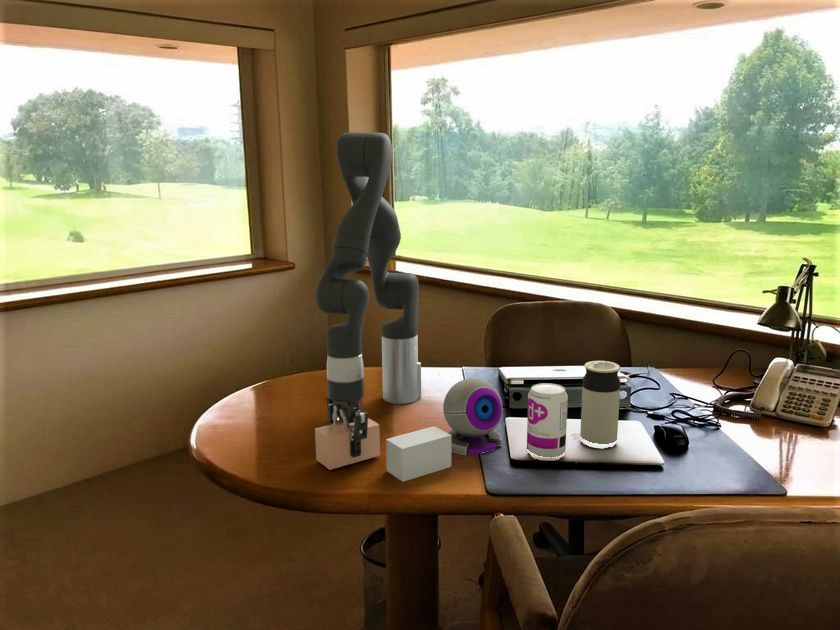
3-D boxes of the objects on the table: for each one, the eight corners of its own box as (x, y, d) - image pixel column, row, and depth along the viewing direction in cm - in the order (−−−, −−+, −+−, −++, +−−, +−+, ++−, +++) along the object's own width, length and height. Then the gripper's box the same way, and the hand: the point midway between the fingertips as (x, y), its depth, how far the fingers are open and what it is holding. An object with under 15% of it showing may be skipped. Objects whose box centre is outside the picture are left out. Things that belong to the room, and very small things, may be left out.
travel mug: (623, 442, 163) (627, 365, 159) (605, 453, 158) (609, 373, 154) (591, 433, 169) (595, 358, 165) (573, 443, 163) (576, 365, 159)
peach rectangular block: (365, 446, 161) (364, 416, 159) (380, 455, 156) (379, 424, 154) (316, 459, 154) (314, 428, 153) (329, 469, 149) (328, 437, 148)
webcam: (462, 460, 155) (463, 392, 152) (432, 439, 166) (432, 376, 162) (512, 447, 161) (514, 382, 158) (480, 428, 172) (481, 367, 168)
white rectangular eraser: (434, 456, 157) (434, 426, 155) (451, 466, 152) (451, 435, 150) (386, 471, 150) (386, 439, 148) (402, 481, 145) (402, 448, 144)
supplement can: (542, 466, 152) (544, 397, 148) (519, 451, 159) (520, 385, 155) (573, 458, 155) (576, 391, 152) (549, 444, 162) (551, 380, 159)
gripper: (379, 380, 147) (381, 458, 151) (344, 363, 159) (347, 435, 163) (346, 387, 143) (349, 467, 147) (313, 369, 155) (316, 443, 158)
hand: (348, 450), depth 155 cm, fingers closed on peach rectangular block, 6 cm apart
